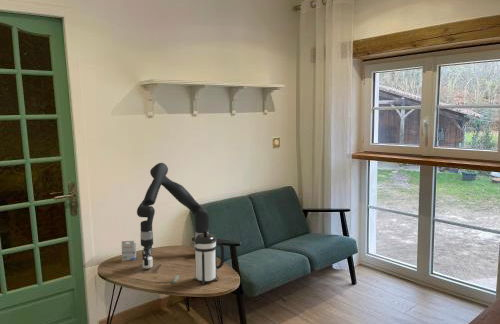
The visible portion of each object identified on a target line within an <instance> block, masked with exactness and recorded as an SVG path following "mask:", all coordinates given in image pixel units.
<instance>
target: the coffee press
mask: <svg viewBox="0 0 500 324" xmlns="http://www.w3.org/2000/svg"><path fill="white" fill-rule="evenodd" d="M203 233H204V234H200V235H198V236H196V238H194V239H193V240H194V242H193V247H194V260H195V261H194V262H195V263H194V266H195V271H194V272H195V276H194V277H193V280H194V281H196V280H198V281H199V282H200V281H201V286H205V285H206V282H210V281H213V280H215V281H216V282H218V281H219V277H218V274H217V273H218V272H217V270H219V269H221V268H222V267H223V266H224V262H225V248H224V245H223V244H222V243H221V242H217V238H216V236H215V235H214V234H212V233H209V234H208V233H207V231H204V232H203ZM218 246H219V248H220V262H219V264H217V247H218Z"/></svg>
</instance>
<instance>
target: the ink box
mask: <svg viewBox="0 0 500 324" xmlns="http://www.w3.org/2000/svg"><path fill="white" fill-rule="evenodd" d="M136 245H137V243H136V242H135V240H122V241H121V257H122V258H121V259H122V260H121V261H122V262H124V261H135V260H136V259H137V246H136Z"/></svg>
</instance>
